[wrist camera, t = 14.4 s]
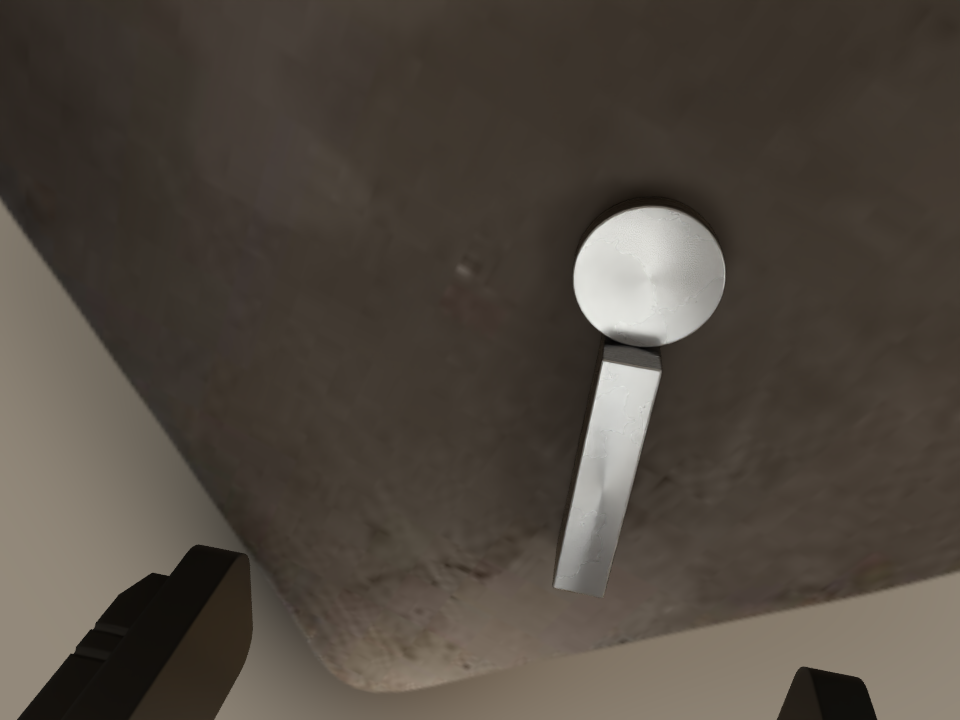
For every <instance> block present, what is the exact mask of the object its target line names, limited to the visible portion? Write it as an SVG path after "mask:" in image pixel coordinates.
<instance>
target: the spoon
mask: <svg viewBox="0 0 960 720" xmlns="http://www.w3.org/2000/svg"><path fill="white" fill-rule="evenodd" d="M725 283H726V263H725V259H724V254H723V252H722V249H721V246H720V243H719V241H718V238H717V236H716V234H715V232H714V231H713V229H712V227H711V226H710V225H709V223H708V222H707V221H706V220H705V219H704V218H703V217H702V216H701V215H700V214H699V213H697V212H696V211H695V210H693V209H692V208H690V207H688V206H686V205H684V204H682V203H680V202H677V201H674V200H671V199H666V198H659V197H642V198H636V199H631V200H628V201H624V202H622V203H619V204H617V205H615V206H613V207H611V208H609V209H608V210H606V211H605V212H603V213H602V214H601V215H600V216H598V217H597V218H596V219H595V220H594V221H593V222H592V223H591V224H590V226H589V227H588V228H587V230H586V231H585V232H584V234H583V236H582V238H581V239H580V242H579V244H578V247H577V250H576V254H575V258H574V264H573V272H572V286H573V292H574V296H575V299H576V302H577V304H578V306H579V308H580V310H581V312H582V314H583V315H584V317H585V318H586V319H587V320H588V322H589V323H590V324H591V325H592V326H593V327H594V328H595V329H597V330H598V331H599V332H601V333H602V338H601V342H600V347H599V352H598V357H597V361H596V366H595V371H594V375H593V380H592V385H591V389H590V394H589V399H588V403H587V408H586V413H585V417H584V422H583V427H582V431H581V436H580V441H579V445H578V450H577V455H576V459H575V464H574V469H573V473H572V478H571V483H570V487H569V492H568V497H567V501H566V506H565V511H564V515H563V520H562V525H561V529H560V534H559V539H558V543H557V549H556V557H555V566H554V575H553V583H552V586H553V588H555V589H560V590H564V591H569V592H574V593H579V594H584V595H588V596H593V597H598V598H603V597H604V595H605V591H606V587H607V583H608V579H609V575H610V572H611V568H612V564H613V560H614V556H615V552H616V549H617V545H618V541H619V537H620V533H621V529H622V526H623V522H624V518H625V514H626V510H627V506H628V502H629V499H630V495H631V491H632V487H633V483H634V479H635V476H636V472H637V468H638V464H639V460H640V456H641V453H642V449H643V445H644V441H645V437H646V433H647V429H648V426H649V422H650V418H651V414H652V410H653V406H654V403H655V399H656V395H657V391H658V387H659V383H660V380H661V376H662V372H663V370H662V360H661V350H660V346H663V345H667V344H671V343H674V342H676V341H679V340H681V339H683V338H685V337H687V336H689V335H691V334H692V333H694V332H695V331H697V330H698V329H699V328H700V327H701V326H702V325H704V324H705V323H706V321H707V320H708V319H709V318H710V317H711V316H712V314H713V313H714V311H715V310H716V308H717V306H718V305H719V303H720V301H721V298H722V295H723V292H724V288H725Z"/></svg>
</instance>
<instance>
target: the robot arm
mask: <svg viewBox="0 0 960 720" xmlns="http://www.w3.org/2000/svg"><path fill="white" fill-rule="evenodd" d="M252 631H253V621H252V602H251V582H250V563H249V558H248V556H247V555H246V554H244V553H239V552H234V551H229V550H224V549H219V548H214V547H209V546H204V545H195V546H193V547H192V548H191V549H190V550H189V551H188V552H187V553H186V555H185V556H184V557H183V559H182V560H181V562H180V563H179V564H178V566H177V567H176V568H175V569H174V571H173V572H172V573H171V575H170V576H166V575H161V574H156V573H151V574H150V575H148V576H147V577H145V578H143V579H142V580H141V581H139V582H137V583H136V584H134V585H133V586H131V587H130V588H128V589H127V590H125V591H124V592H122V593H121V594H119V595H118V597H117V598H116V599H115V600H114V602H113V603H112V604H111V605H110V606H109V607H108V609H107V610H106V611H105V612H104V614H103V615H102V616H101V618H100V619H99V620H98V621H97V622H96V624H95V628H94V629H93V630H92V629H91V630H90V631H89V632H88V633H87V635H86V636H85V637H84V638H83V639H82V641H81V642H80V643H79V644H78V645H77V647H76V651H75V653H74V654H70V655H69V657H68V658H67V659H66V660H65V661H64V663H63V664H62V665H61V666H60V668H59V669H58V670H57V671H56V673H55V674H54V675H53V676H52V677H51V679H50V680H49V681H48V682H47V684H46V685H45V686H44V687H43V688H42V690H41V691H40V692H39V693H38V695H37V696H36V697H35V698H34V700H33V701H32V702H31V703H30V704H29V706H28V707H27V708H26V709H25V711H24V712H23V713H22V714H21V715H20V717H19V718H18V719H17V720H214V719H215V717H216V715H217V713H218V712H219V710H220V708H221V706H222V704H223V703H224V701H225V699H226V697H227V695H228V694H229V692H230V690H231V688H232V686H233V684H234V683H235V681H236V679H237V677H238V675H239V674H240V672H241V670H242V668H243V665H244V663H245V661H246V658H247V655H248V652H249V648H250V644H251V639H252ZM777 720H877V718H876V714H875V711H874V708H873V705H872V703H871V699H870V697H869V694H868V690H867V688H866V686H865V684H864V682H863V681H862V680H861V679H860V678H858V677H854V676H849V675H844V674H839V673H833V672H828V671H823V670H818V669H813V668H808V667H801V668H800V669H798V671H797V672H796V674H795V676H794V679H793V681H792V684H791V686H790V689H789V691H788V694H787V696H786V699H785V701H784V704H783V706H782V708H781V711H780V713H779V717H778V718H777Z"/></svg>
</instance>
